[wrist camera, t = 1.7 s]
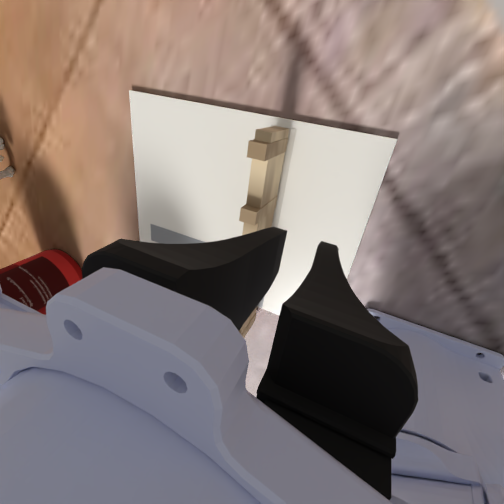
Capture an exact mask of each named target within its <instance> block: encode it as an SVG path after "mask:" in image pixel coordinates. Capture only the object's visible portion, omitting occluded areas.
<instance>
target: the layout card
mask: <svg viewBox="0 0 504 504" xmlns="http://www.w3.org/2000/svg"><path fill="white" fill-rule="evenodd" d="M129 96H130V110H131V124H132V138H133V152H134V166H135V180H136V194H137V208H138V223H139V237H140V241H141V242H149V243H164V244H189V243H205V242H213V241H219V240H225V239H229V238H233V237H237V236H242V233H243V225H244V222H241V221H239V218H240V210H241V207H243V206H244V205H246V201H247V193H248V186H249V178H250V170H251V162H252V158H248V157H247V151H248V142H249V141H250V140H254V139H255V131H256V129H261V128H266V127H272V126H278V127H283V128H288V129H289V133H288V142H287V148H286V152H285V155H284V160H283V166H282V171H281V177H280V182H279V188H278V193H277V196H278V197H277V203H276V207H275V210H274V215H273V221H272V226H271V227H277V228H280V229H283V230H287V235H286V240H285V245H284V249H283V254H282V259H281V263H280V268H279V272H278V274H277V276H276V278H275V280H274V282H273V284H272V285H271V287H270V289H269V290H268V292H267V293H266V294H265V296H264V297H263V299H262V300H261V301H260V303H259V304H258V305H257V307H259V308H261V309H264V310H267V311H269V312H272V313H274V314H277V315H279V316H280V312H281V308H282V304H283V303H284V302H285V301H286V300H288V299H289V298H290V297H291V296H292V295H293V294H294V293H295V291H296V290H297V289H298V288H299V286H300V285H301V284H302V282H303V281H304V279H305V278H306V276H307V274H308V273H309V271H310V269H311V267H312V264H313V261H314V257H315V254H316V250H317V247H318V244H319V243H320V242H321V241H323V242H327V243H330V244H333V245H337V247H338V249H339V250H338V253H339V258H340V262H341V266H342V269H343V272H344V274H345V277H346V279H347V277H348V274H349V272H350V269H351V266H352V263H353V261H354V258H355V255H356V252H357V249H358V247H359V244H360V241H361V238H362V236H363V233H364V230H365V227H366V225H367V222H368V219H369V216H370V214H371V211H372V208H373V205H374V202H375V200H376V197H377V194H378V191H379V189H380V186H381V183H382V180H383V178H384V175H385V172H386V169H387V167H388V164H389V161H390V158H391V155H392V153H393V150H394V147H395V144H396V142H397V139H395V138H390V137H384V136H379V135H373V134H368V133H363V132H357V131H352V130H346V129H341V128H335V127H330V126H324V125H319V124H313V123H308V122H302V121H297V120H291V119H286V118H281V117H275V116H270V115H264V114H259V113H253V112H248V111H242V110H237V109H231V108H226V107H220V106H215V105H210V104H204V103H199V102H193V101H188V100H182V99H177V98H171V97H166V96H160V95H155V94H149V93H144V92H138V91H133V90H129Z"/></svg>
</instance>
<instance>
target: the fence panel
mask: <svg viewBox="0 0 504 504" xmlns="http://www.w3.org/2000/svg"><path fill="white" fill-rule="evenodd" d="M288 133H289V129H288V128H283V127H278V126H272V127H266V128H261V129H256V131H255V139H254V140H250V141H249V142H248V151H247V157H248V158H252V162H251V170H250V178H249V186H248V193H247V201H246V205H244V206H243V207H241V210H240V218H239V221H241V222H244V225H243V233H242V235H245V234H249V233H252V232H255V231H259V230H262V229H265V228H269V227H271V226H272V221H273V215H274V210H275V207H276V203H277V197H278V196H277V193H278V188H279V182H280V177H281V171H282V166H283V160H284V155H285V152H286V148H287V142H288Z"/></svg>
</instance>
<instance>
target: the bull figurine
mask: <svg viewBox="0 0 504 504" xmlns="http://www.w3.org/2000/svg"><path fill="white" fill-rule="evenodd" d="M3 143H4V141H3V139H2V138H1V137H0V150H3V149H4V146H5V145H4V144H3ZM3 159H4V157H3V156H2V155H0V162H1V161H3ZM13 174H14V169H13V167H11V166H8V167H7V168H6V169H5V170H3V171H0V179H2V178H5V177H13Z"/></svg>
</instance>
